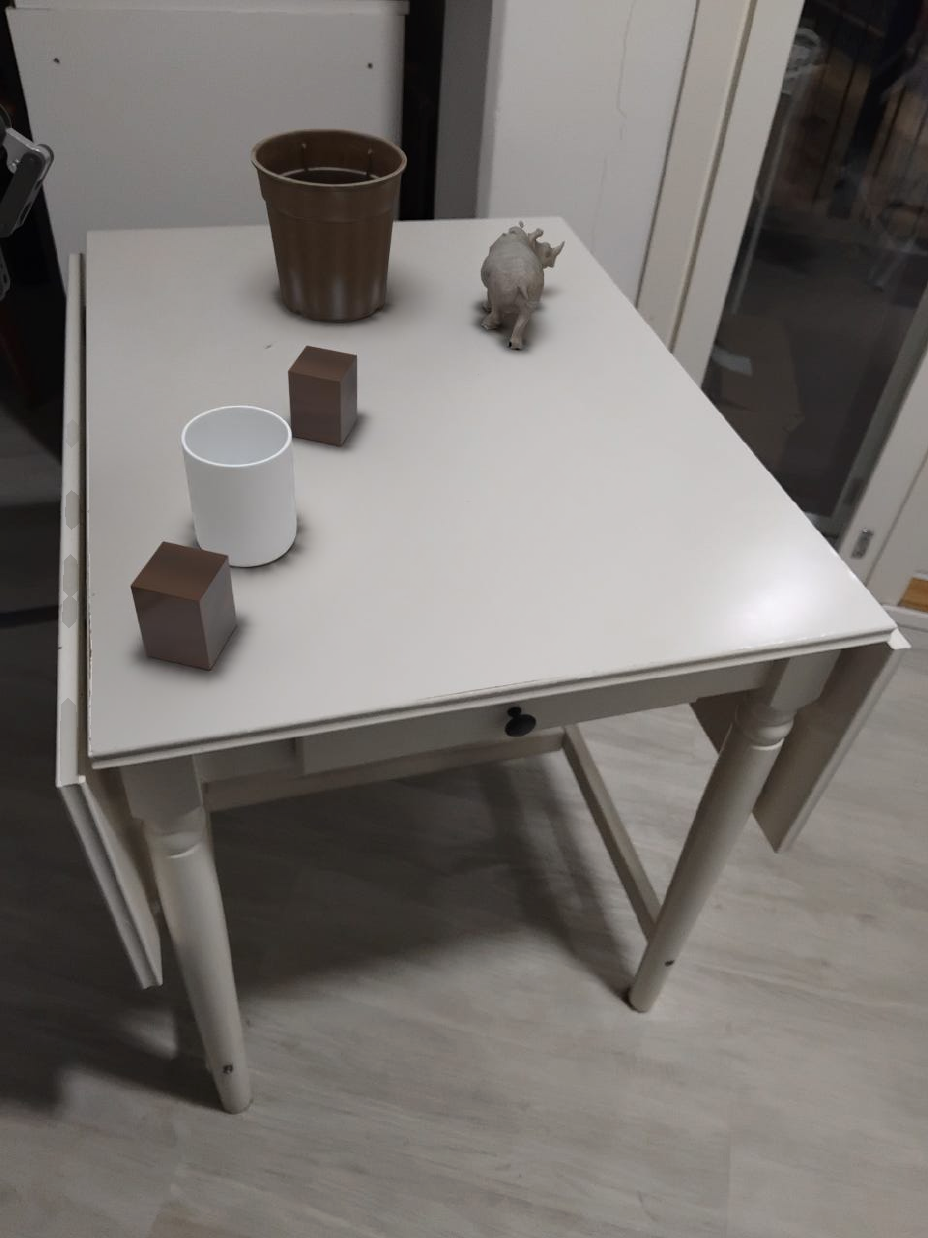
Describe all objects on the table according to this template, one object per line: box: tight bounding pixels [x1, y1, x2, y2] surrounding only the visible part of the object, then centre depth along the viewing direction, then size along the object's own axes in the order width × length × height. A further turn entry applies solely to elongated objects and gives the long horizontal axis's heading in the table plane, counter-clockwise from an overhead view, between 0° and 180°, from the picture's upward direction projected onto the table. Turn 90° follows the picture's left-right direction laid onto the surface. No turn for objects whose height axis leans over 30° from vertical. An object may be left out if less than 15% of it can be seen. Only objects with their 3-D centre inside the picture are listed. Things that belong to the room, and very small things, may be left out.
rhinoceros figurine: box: [480, 220, 566, 351], centre depth 108 cm, size 8×14×15 cm
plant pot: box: [250, 128, 408, 323], centre depth 105 cm, size 16×16×16 cm
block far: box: [287, 345, 358, 447], centre depth 89 cm, size 5×5×7 cm
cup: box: [180, 405, 298, 568], centre depth 77 cm, size 8×12×10 cm
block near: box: [130, 540, 238, 671], centre depth 68 cm, size 5×5×7 cm
